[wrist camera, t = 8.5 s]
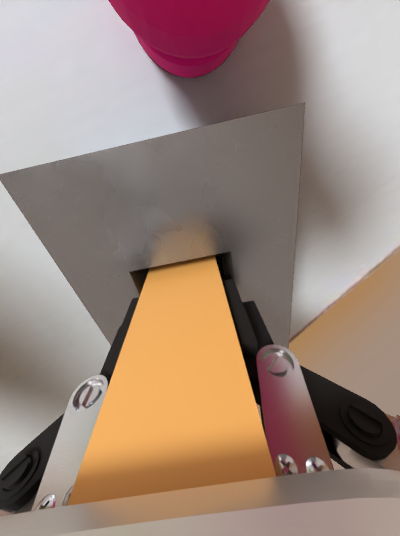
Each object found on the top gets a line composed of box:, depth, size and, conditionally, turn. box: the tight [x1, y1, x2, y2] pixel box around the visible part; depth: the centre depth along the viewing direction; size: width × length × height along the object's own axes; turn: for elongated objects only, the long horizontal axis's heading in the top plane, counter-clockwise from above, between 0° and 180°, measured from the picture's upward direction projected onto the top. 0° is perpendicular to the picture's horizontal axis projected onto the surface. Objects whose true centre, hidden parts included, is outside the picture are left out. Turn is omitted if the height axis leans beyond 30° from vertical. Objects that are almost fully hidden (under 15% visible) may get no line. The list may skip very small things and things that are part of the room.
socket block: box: [0, 103, 305, 349], centre depth 14 cm, size 16×12×6 cm
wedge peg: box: [67, 255, 276, 506], centre depth 8 cm, size 4×4×11 cm
